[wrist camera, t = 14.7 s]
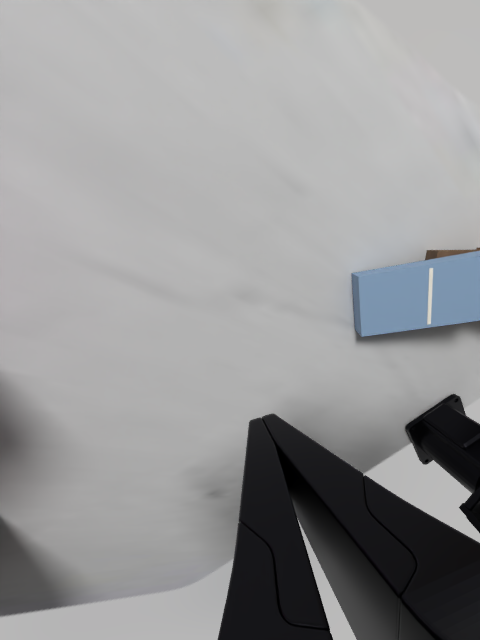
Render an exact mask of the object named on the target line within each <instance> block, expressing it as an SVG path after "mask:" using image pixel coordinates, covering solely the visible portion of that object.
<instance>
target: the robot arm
mask: <svg viewBox="0 0 480 640" xmlns="http://www.w3.org/2000/svg"><path fill="white" fill-rule="evenodd" d="M406 431H407V433H408V435H409V437H410V439H411V442H412V444H413V446H414V448H415V451H416V453H417V455H418V457H419V460H420V461H421V462H422V463H423V464H428V463H429V462H431V461H432V460H434V461H435V462H436V463H438V464H439V465H440V466H441V467H442V468H443V469H445V470H446V471H447V472H448V473H449V474H450V475H451V476H453V477H454V478H455V479H456V480H457V481H458V482H460V483H461V484H462V485H463V486H464V487H465V488H466V489H468V490H469V491H470V492H471V493H472V495H471V496H470V497H469V498H468V500H467V501H466V502H465V503H463V504H462V505H461V506H460V507H459V508H460V509H461V511H462V512H463V513H464V514H465V515H466V517H467V519H468V520H469V521H470V522H471V524H473V526H474V527H475V528H476V529H477V530H478V531H479V533H480V424H479V423H477V422H475V421H474V420H472V419H470V418H469V417H467V416H466V415H465V411H464V408H463V405H462V401H461V398H460V397H459V396H457V395H456V394H453V395H451V396H449V397H448V398H446V399H445V400H443V401H442V402H440V403H439V404H437V405H436V406H434V407H433V408H432V409H430V410H429V411H427V412H426V413H424V414H423V415H421V416H420V417H418V418H417V419H415V420H414V421H412V422H411V423H409V424H408V425H407V426H406ZM297 518H298V519H297ZM298 520H299V522H300V524H301V526H302V528H303V530H304V532H305V534H306V536H307V538H308V540H309V542H310V545H311V547H312V548H313V551H314V553H315V555H316V557H317V559H318V561H319V563H320V565H321V567H322V569H323V571H324V573H325V575H326V577H327V579H328V581H329V583H330V586H331V588H332V590H333V592H334V594H335V596H336V598H337V600H338V602H339V604H340V606H341V608H342V610H343V612H344V614H345V616H346V618H347V620H348V622H349V624H350V626H351V629H352V630H353V633H354V635H355V637H356V639H357V640H480V543H479V542H477V541H475V540H473V539H472V538H470V537H468V536H466V535H464V534H463V533H461V532H459V531H457V530H456V529H454V528H452V527H450V526H448V525H447V524H445V523H443V522H441V521H439V520H438V519H436V518H434V517H432V516H430V515H429V514H427V513H425V512H423V511H422V510H420V509H418V508H416V507H415V506H413V505H411V504H410V503H408V502H406V501H404V500H403V499H401V498H400V497H398V496H396V495H395V494H393V493H392V492H390V491H388V490H387V489H385V488H384V487H382V486H381V485H379V484H378V483H376V482H375V481H373V480H372V479H370V478H369V477H367V476H366V475H365V476H364V477H363V473H361V472H360V471H358V470H357V469H355V468H354V467H352V466H351V465H349V464H348V463H346V462H345V461H343V460H342V459H340V458H339V457H337V456H336V455H334V454H333V453H331V452H330V451H329V450H327V449H326V448H324V447H323V446H321V445H320V444H318V443H317V442H315V441H314V440H312V439H311V438H309V437H308V436H306V435H305V434H303V433H302V432H300V431H299V430H297V429H296V428H294V427H293V426H291V425H290V424H288V423H287V422H285V421H284V420H282V419H281V418H279V417H278V416H277V415H275V414H269V415H266V416H263V417H262V418H256V419H253V420H250V422H249V429H248V438H247V448H246V457H245V466H244V476H243V485H242V494H241V504H240V513H239V523H238V530H237V539H236V547H235V554H234V561H233V568H232V573H231V578H230V584H229V589H228V595H227V600H226V604H225V608H224V613H223V618H222V622H221V627H220V631H219V636H218V640H333V638H332V635H331V633H330V628H329V624H328V621H327V618H326V614H325V611H324V607H323V604H322V601H321V598H320V594H319V591H318V587H317V584H316V580H315V577H314V574H313V570H312V567H311V564H310V560H309V557H308V554H307V550H306V546H305V543H304V540H303V536H302V533H301V530H300V526H299V523H298Z"/></svg>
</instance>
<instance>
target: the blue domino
mask: <svg viewBox="0 0 480 640" xmlns="http://www.w3.org/2000/svg"><path fill="white" fill-rule="evenodd" d="M352 286H353V303H354V319H355V330H356V331H357V332H358V333H359V334H360V336H361V337H364V336H371V335H378V334H386V333H393V332H400V331H408V330H415V329H422V328H429V327H437V326H444V325H451V324H459V323H466V322H473V321H480V251H475V252H469V253H464V254H458V255H452V256H447V257H441V258H436V259H430V260H424V261H419V262H413V263H407V264H402V265H396V266H390V267H385V268H379V269H373V270H368V271H362V272H356V273H352Z"/></svg>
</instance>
